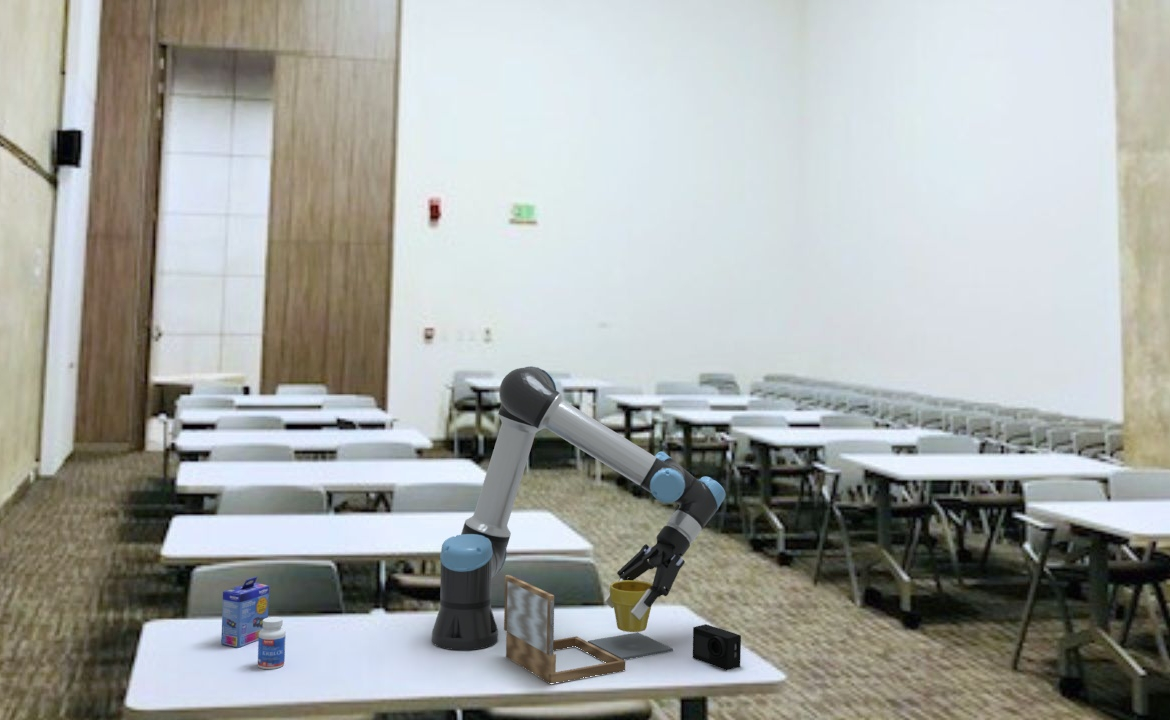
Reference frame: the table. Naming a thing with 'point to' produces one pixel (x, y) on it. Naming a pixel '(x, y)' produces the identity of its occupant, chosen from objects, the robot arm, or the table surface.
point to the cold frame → (544, 635)
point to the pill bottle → (271, 644)
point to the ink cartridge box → (244, 613)
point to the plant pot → (629, 604)
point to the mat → (630, 646)
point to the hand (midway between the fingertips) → (621, 610)
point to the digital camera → (716, 647)
